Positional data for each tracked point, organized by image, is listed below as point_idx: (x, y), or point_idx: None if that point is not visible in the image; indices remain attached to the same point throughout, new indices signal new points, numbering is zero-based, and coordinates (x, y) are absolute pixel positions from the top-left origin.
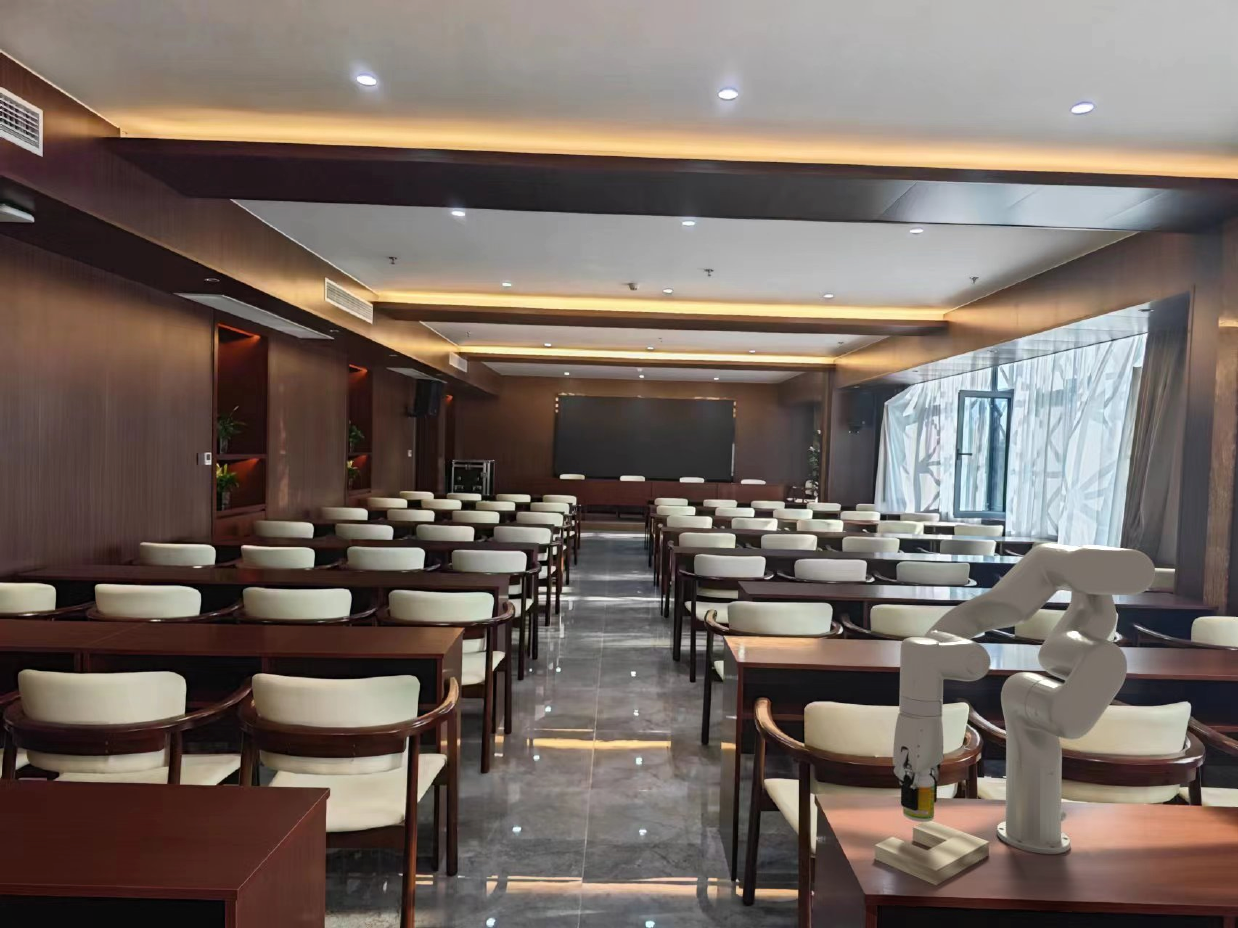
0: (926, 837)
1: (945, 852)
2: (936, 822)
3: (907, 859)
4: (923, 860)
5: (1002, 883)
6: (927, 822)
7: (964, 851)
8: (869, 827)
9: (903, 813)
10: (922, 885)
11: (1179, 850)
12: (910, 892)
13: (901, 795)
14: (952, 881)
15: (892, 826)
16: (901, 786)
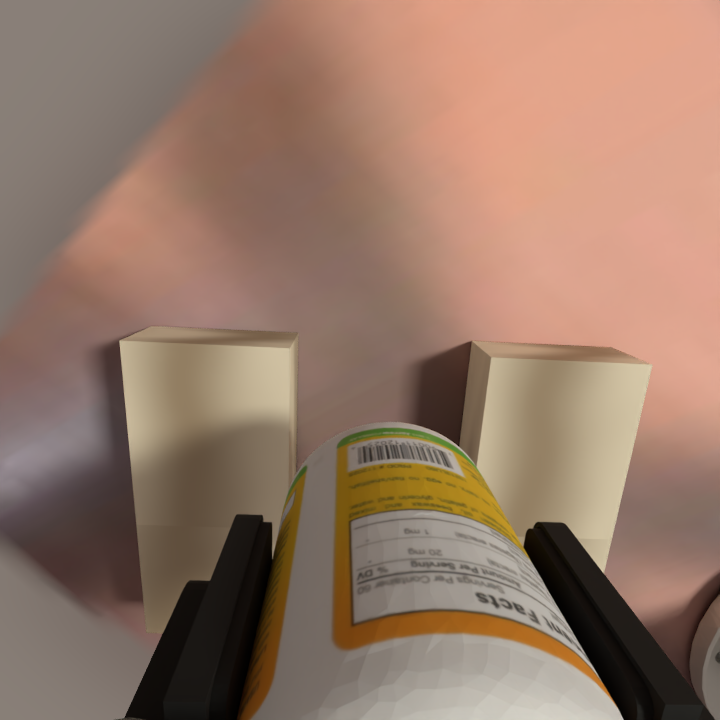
0: (472, 423)
1: None
2: (641, 407)
3: (138, 511)
4: (182, 564)
5: None
6: (607, 378)
7: None
8: (452, 98)
9: (313, 452)
10: (127, 557)
11: None
12: (41, 556)
13: (215, 575)
14: None
15: (556, 183)
16: (176, 667)
